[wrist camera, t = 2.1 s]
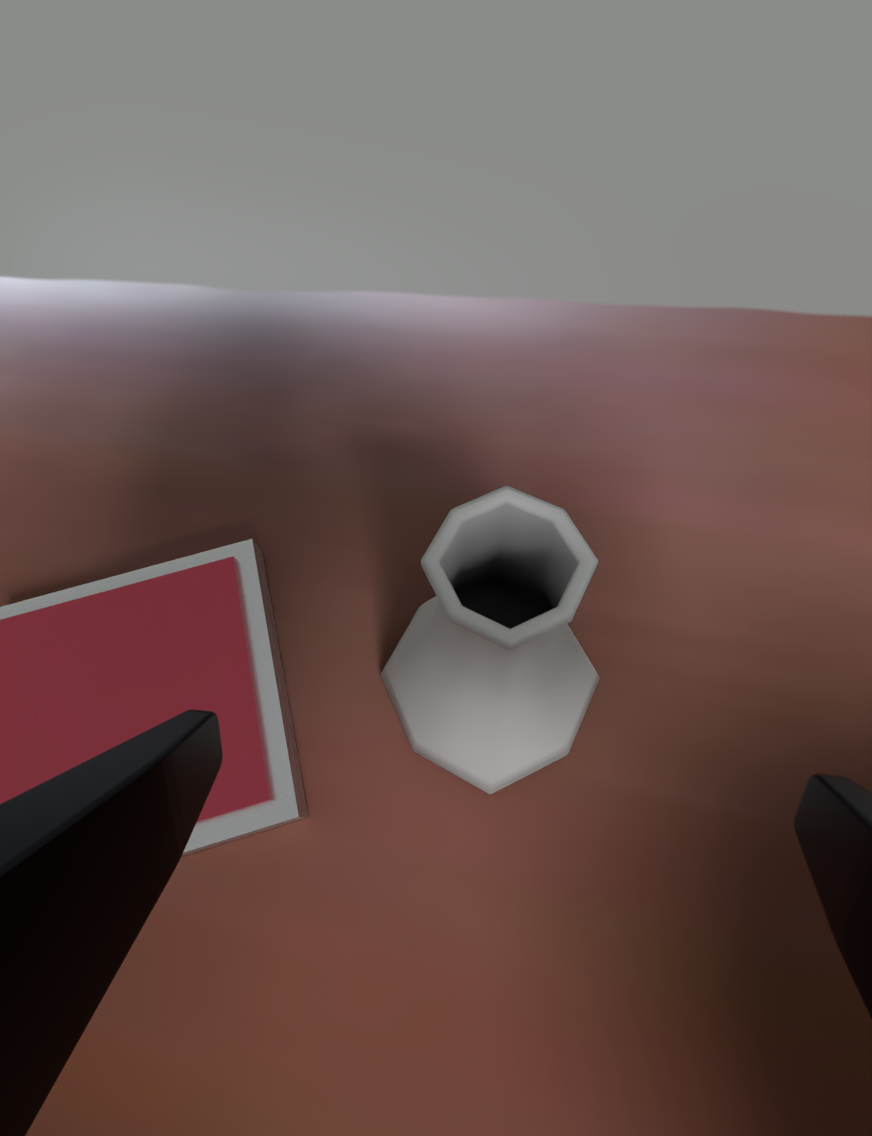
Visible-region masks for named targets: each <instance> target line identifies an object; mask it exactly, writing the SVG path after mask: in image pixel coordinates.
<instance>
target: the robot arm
mask: <svg viewBox="0 0 872 1136" xmlns="http://www.w3.org/2000/svg"><path fill="white" fill-rule="evenodd" d="M222 756H223V752H222V744H221V736H220V728H219V720H218V717H217V715H216V714H215V713H214V712H212V711H205V710H195V709H191V710H187V711H185V712H183V713H181V714H179V715H177V716H175V717H173V718H171V719H169V720H167V721H165V722H163V723H161V724H159V725H157V726H155V727H153V728H151V729H149V730H147V731H145V732H143V733H141V734H139V735H137V736H135V737H133V738H131V739H129V740H127V741H125V742H123V743H121V744H119V745H117V746H115V747H113V748H111V749H109V750H107V751H105V752H103V753H101V754H99V755H97V756H95V757H93V758H91V759H89V760H87V761H85V762H83V763H81V764H79V765H77V766H75V767H73V768H71V769H69V770H67V771H65V772H63V773H61V774H59V775H57V776H55V777H53V778H51V779H49V780H48V781H46V782H44V783H42V784H40V785H38V786H36V787H34V788H32V789H30V790H28V791H26V792H24V793H22V794H20V795H18V796H16V797H14V798H12V799H10V800H8V801H6V802H4V803H2V804H0V1136H25V1135H26V1133H27V1132H28V1130H29V1128H30V1126H31V1125H32V1123H33V1121H34V1119H35V1117H36V1116H37V1114H38V1112H39V1110H40V1108H41V1107H42V1105H43V1103H44V1101H45V1100H46V1098H47V1096H48V1094H49V1092H50V1091H51V1089H52V1087H53V1085H54V1084H55V1082H56V1080H57V1078H58V1076H59V1075H60V1073H61V1071H62V1069H63V1068H64V1066H65V1064H66V1062H67V1060H68V1059H69V1057H70V1055H71V1053H72V1052H73V1050H74V1048H75V1046H76V1044H77V1043H78V1041H79V1039H80V1037H81V1035H82V1034H83V1032H84V1030H85V1028H86V1027H87V1025H88V1023H89V1021H90V1019H91V1018H92V1016H93V1014H94V1012H95V1011H96V1009H97V1007H98V1005H99V1003H100V1002H101V1000H102V998H103V996H104V995H105V993H106V991H107V989H108V987H109V986H110V984H111V982H112V980H113V979H114V977H115V975H116V973H117V971H118V970H119V968H120V966H121V964H122V962H123V961H124V959H125V957H126V955H127V954H128V952H129V950H130V948H131V946H132V945H133V943H134V941H135V939H136V938H137V936H138V934H139V932H140V930H141V929H142V927H143V925H144V923H145V922H146V920H147V918H148V916H149V914H150V913H151V911H152V909H153V907H154V906H155V904H156V902H157V900H158V898H159V897H160V895H161V893H162V891H163V889H164V888H165V886H166V884H167V882H168V881H169V879H170V877H171V875H172V873H173V871H174V870H175V868H176V866H177V864H178V862H179V860H180V858H181V856H182V854H183V852H184V850H185V848H186V845H187V843H188V841H189V839H190V836H191V834H192V832H193V829H194V827H195V825H196V823H197V820H198V818H199V816H200V813H201V811H202V809H203V807H204V804H205V802H206V800H207V797H208V795H209V793H210V790H211V788H212V786H213V784H214V781H215V779H216V777H217V774H218V772H219V770H220V767H221V763H222ZM794 825H795V832H796V835H797V838H798V841H799V843H800V846H801V849H802V852H803V854H804V857H805V860H806V863H807V865H808V868H809V871H810V874H811V877H812V879H813V882H814V885H815V888H816V890H817V893H818V896H819V899H820V901H821V904H822V907H823V910H824V912H825V915H826V918H827V921H828V923H829V926H830V928H831V931H832V933H833V936H834V939H835V941H836V943H837V946H838V948H839V950H840V952H841V955H842V957H843V959H844V961H845V964H846V966H847V968H848V970H849V972H850V974H851V976H852V978H853V980H854V983H855V985H856V987H857V989H858V991H859V993H860V995H861V997H862V999H863V1002H864V1004H865V1006H866V1008H867V1010H868V1012H869V1014H870V1016H871V1019H872V793H871V792H869V791H867V790H866V789H864V788H863V787H861V786H860V785H858V784H856V783H855V782H853V781H852V780H850V779H848V778H846V777H843V776H838V775H828V774H814V775H812V776H811V777H810V778H809V779H808V781H807V784H806V786H805V789H804V792H803V795H802V797H801V800H800V803H799V806H798V808H797V811H796V814H795V820H794Z"/></svg>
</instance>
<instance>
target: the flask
mask: <svg viewBox="0 0 872 1136" xmlns="http://www.w3.org/2000/svg"><path fill="white" fill-rule="evenodd" d="M597 564H598V560H597V558H596V557H595V555H594V554H593V552H592V551H591V549H590V547H589V546H588V544H587V543H586V541H585V540H584V538H583V537H582V535H581V534H580V532H579V531H578V529H577V528H576V526H575V525H574V523H573V522H572V520H571V519H570V517H569V516H568V514H567V512H566V511H565V509H562V508H560V507H558V506H555V505H553V504H550V503H548V502H546V501H543V500H541V499H538V498H536V497H534V496H531V495H529V494H526V493H524V492H522V491H519V490H517V489H514V488H512V487H510V486H507V485H506V486H504V487H502V488H499V489H497V490H495V491H492V492H490V493H488V494H485V495H483V496H481V497H478V498H476V499H474V500H472V501H469V502H467V503H465V504H462V505H460V506H458V507H455V508H453V509H451V510H450V512H449V514H448V515H447V517H446V519H445V520H444V522H443V524H442V525H441V527H440V529H439V530H438V532H437V534H436V535H435V537H434V539H433V540H432V542H431V544H430V546H429V547H428V549H427V551H426V552H425V554H424V556H423V557H422V559H421V566H422V568H423V570H424V572H425V574H426V576H427V578H428V580H429V582H430V584H431V586H432V588H433V590H434V592H435V594H436V596H435V597H433V598H432V599H430V600H428V601H427V602H425V603H423V604H422V605H421V606H420V607H419V608H418V610H417V611H416V613H415V615H414V617H413V618H412V620H411V622H410V624H409V625H408V627H407V629H406V631H405V632H404V634H403V636H402V638H401V639H400V641H399V643H398V644H397V646H396V648H395V650H394V651H393V653H392V655H391V657H390V658H389V660H388V662H387V664H386V665H385V667H384V669H383V671H382V672H381V674H380V676H381V678H382V680H383V683H384V685H385V687H386V690H387V692H388V694H389V697H390V699H391V701H392V704H393V706H394V708H395V711H396V713H397V715H398V718H399V720H400V722H401V724H402V727H403V729H404V731H405V734H406V736H407V738H408V741H409V743H410V745H411V748H412V750H413V752H415V753H417V754H419V755H421V756H422V757H424V758H426V759H428V760H429V761H431V762H433V763H435V764H437V765H438V766H440V767H442V768H444V769H446V770H447V771H449V772H451V773H453V774H454V775H456V776H458V777H460V778H462V779H463V780H465V781H467V782H469V783H470V784H472V785H474V786H476V787H478V788H479V789H481V790H483V791H485V792H486V793H488V794H490V795H491V794H492V793H494V792H496V791H498V790H500V789H502V788H504V787H506V786H508V785H510V784H512V783H514V782H516V781H518V780H520V779H522V778H524V777H526V776H528V775H530V774H531V773H533V772H535V771H537V770H539V769H541V768H543V767H545V766H547V765H549V764H551V763H553V762H555V761H557V760H559V759H561V758H563V757H565V756H567V755H568V753H569V751H570V748H571V746H572V744H573V741H574V739H575V737H576V734H577V732H578V729H579V727H580V725H581V722H582V720H583V718H584V715H585V713H586V710H587V708H588V706H589V703H590V701H591V699H592V696H593V694H594V691H595V689H596V687H597V684H598V682H599V680H600V677H599V676H598V674H597V672H596V670H595V669H594V667H593V665H592V664H591V662H590V660H589V659H588V657H587V655H586V654H585V652H584V650H583V649H582V647H581V645H580V644H579V642H578V640H577V639H576V637H575V635H574V634H573V632H572V630H571V629H570V627H569V625H568V624H567V623H569V622H571V621H572V619H573V616H574V614H575V612H576V610H577V608H578V605H579V603H580V601H581V599H582V597H583V595H584V592H585V590H586V588H587V586H588V584H589V581H590V579H591V577H592V575H593V573H594V571H595V568H596V566H597Z"/></svg>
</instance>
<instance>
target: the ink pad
mask: <svg viewBox="0 0 872 1136" xmlns="http://www.w3.org/2000/svg"><path fill="white" fill-rule="evenodd" d="M191 709H195V710H205V711H212V712H214V713H215V714H216V715H217V717H218V720H219V728H220V736H221V744H222V752H223V756H222V763H221V767H220V770H219V772H218V774H217V777H216V779H215V781H214V784H213V786H212V788H211V790H210V793H209V795H208V797H207V800H206V802H205V804H204V807H203V809H202V811H201V813H200V816H199V818H198V820H197V823H196V825H195V827H194V829H193V832H192V834H191V836H190V839H189V841H188V843H187V845H186V848H185V850H184V852H183V854H182V856H184V855H187V854H191V853H194V852H197V851H200V850H204V849H207V848H210V847H213V846H216V845H220V844H223V843H226V842H229V841H233V840H236V839H239V838H242V837H245V836H249V835H252V834H255V833H258V832H262V831H265V830H268V829H271V828H275V827H278V826H281V825H284V824H287V823H291V822H294V821H297V820H300V819H304V818H307V817H309V815H308V810H307V804H306V798H305V792H304V787H303V781H302V775H301V769H300V764H299V758H298V752H297V746H296V741H295V735H294V729H293V724H292V718H291V712H290V706H289V701H288V695H287V689H286V683H285V678H284V672H283V666H282V660H281V655H280V649H279V643H278V638H277V632H276V626H275V620H274V615H273V609H272V603H271V597H270V592H269V586H268V580H267V574H266V569H265V563H264V557H263V552H262V551H261V550H260V548H259V547H258V546H257V544H256V543H255V542H254V540H253V539H249V540H245V541H242V542H238V543H234V544H231V545H227V546H223V547H219V548H216V549H212V550H208V551H205V552H201V553H197V554H194V555H190V556H186V557H183V558H179V559H175V560H172V561H168V562H164V563H160V564H157V565H153V566H149V567H146V568H142V569H138V570H135V571H131V572H127V573H124V574H120V575H116V576H113V577H109V578H105V579H101V580H98V581H94V582H90V583H87V584H83V585H79V586H76V587H72V588H68V589H65V590H61V591H57V592H54V593H50V594H46V595H42V596H39V597H35V598H31V599H28V600H24V601H20V602H17V603H13V604H9V605H6V606H2V607H0V804H2V803H4V802H6V801H8V800H10V799H12V798H14V797H16V796H18V795H20V794H22V793H24V792H26V791H28V790H30V789H32V788H34V787H36V786H38V785H40V784H42V783H44V782H46V781H48V780H49V779H51V778H53V777H55V776H57V775H59V774H61V773H63V772H65V771H67V770H69V769H71V768H73V767H75V766H77V765H79V764H81V763H83V762H85V761H87V760H89V759H91V758H93V757H95V756H97V755H99V754H101V753H103V752H105V751H107V750H109V749H111V748H113V747H115V746H117V745H119V744H121V743H123V742H125V741H127V740H129V739H131V738H133V737H135V736H137V735H139V734H141V733H143V732H145V731H147V730H149V729H151V728H153V727H155V726H157V725H159V724H161V723H163V722H165V721H167V720H169V719H171V718H173V717H175V716H177V715H179V714H181V713H183V712H185V711H187V710H191Z"/></svg>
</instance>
